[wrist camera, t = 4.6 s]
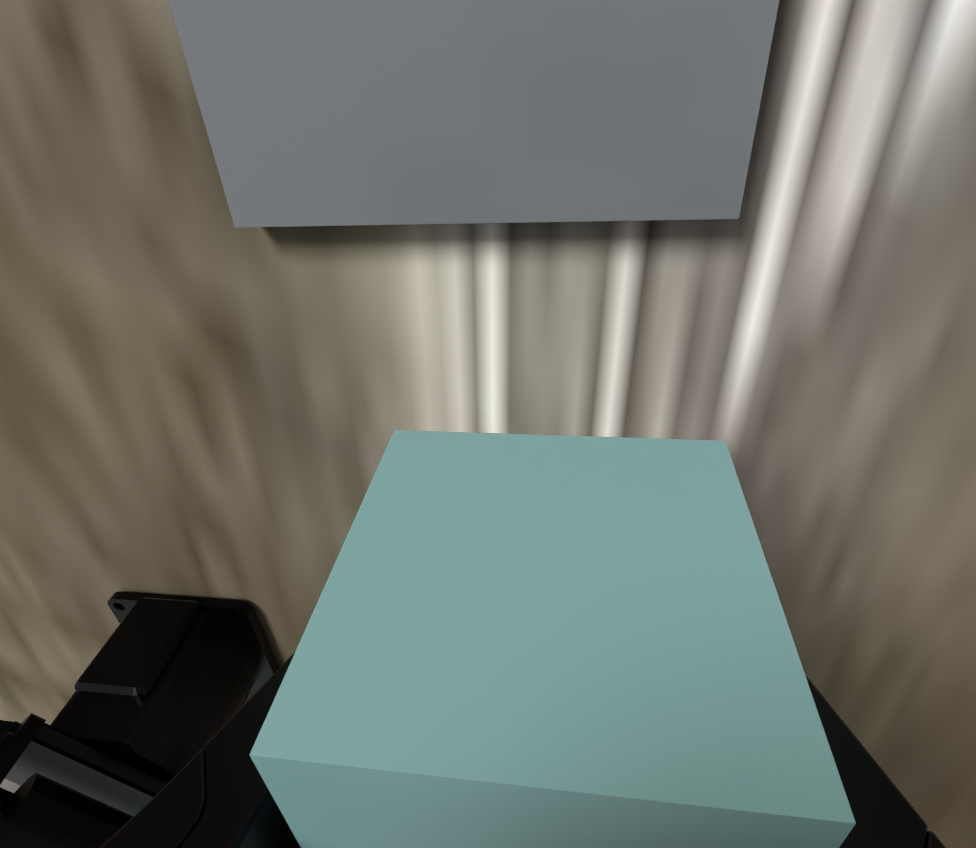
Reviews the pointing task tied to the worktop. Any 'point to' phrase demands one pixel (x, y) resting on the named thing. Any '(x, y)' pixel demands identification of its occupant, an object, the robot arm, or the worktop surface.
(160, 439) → the worktop surface
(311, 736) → the block
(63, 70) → the worktop surface
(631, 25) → the pad
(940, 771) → the worktop surface
